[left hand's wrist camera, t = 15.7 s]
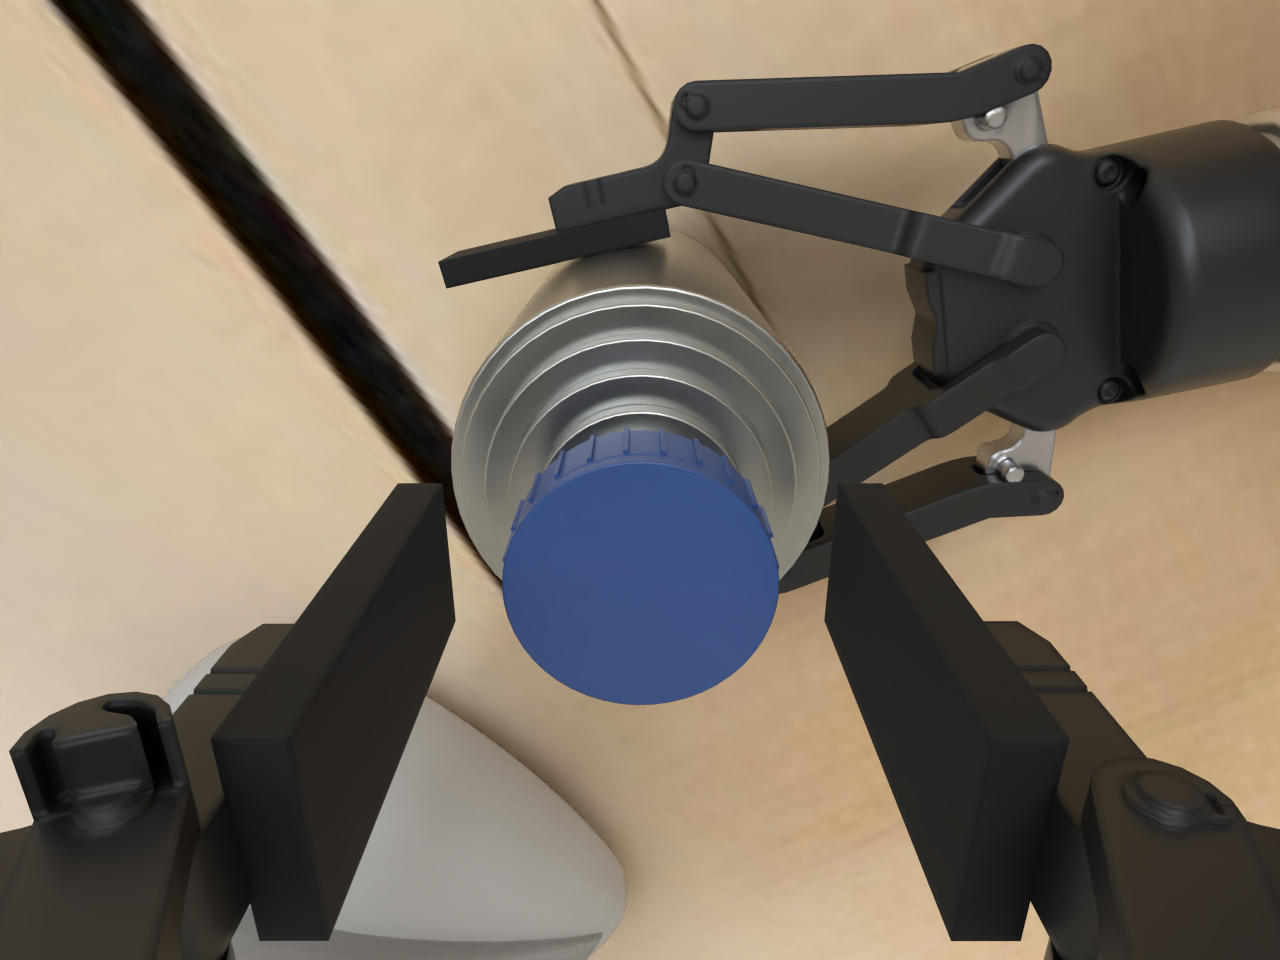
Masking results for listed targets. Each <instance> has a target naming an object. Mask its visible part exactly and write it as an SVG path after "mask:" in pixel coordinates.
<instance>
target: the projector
mask: <svg viewBox="0 0 1280 960" xmlns="http://www.w3.org/2000/svg"><path fill="white" fill-rule="evenodd" d="M239 639H240V638H239ZM239 639H236V640H234V641H231V642H229V643H227V644H225V645H223V646H221V647H219V648H217V649H216V650H215V651H213V652H212V653H210V654H209V655H208V656H206V657H205V658H204V659H202V660H201V661H200V662H199V663H198V664H196V665H195V666H194V667H193V668H192V669H191V670H190V671H189V672H187V673H186V674H185V675H184V676H183V677H182V678H181V679H180V680H179V681H178V682H177V683H176V684H175V685H174V686H173V687H172V688H171V689H170V691H169V692H168V693H167V694H166V695H165V696H164V698H163V700H164V701H165V702H167V703H168V704H169V705H170V707H171V711H172V714H173V713H174V712H175V711H176V710H177V709H178V707H179V706H180V705H181V704H182V703H183V701H184V700H185V699H186V698H187V697H188V695H189V694H193V692H194V688H195V687H196V686H197V685H198V683H199V682H200V681H201V680H202V679H203V677H204V676H205V675H206V674H210V672H211V668H212V667H213V665H214V664H215V663H216V662H217V661H218V659H219V658H220V657H221V656H222V655H223V653H224V652H225V651H226V650H227V649H228V647H229V646H230V645H231V644H233V643H234V642H236V641H237V640H239ZM625 906H626V882H625V877H624V872H623V869H622V867H621V865H620V863H619V861H618V859H617V858H616V856H615V855H614V854H613V852H612V851H611V850H610V848H609V847H608V846H607V845H606V843H605V842H604V841H603V840H602V839H601V838H600V837H599V836H598V834H597V833H596V832H595V831H594V830H593V829H592V828H591V827H590V826H589V825H588V824H587V823H586V822H585V821H584V820H583V819H582V818H581V817H580V816H579V815H578V814H577V813H576V812H575V811H574V810H573V809H572V808H571V807H570V806H569V805H568V804H567V803H566V802H565V801H564V800H563V799H562V798H561V797H560V796H559V795H558V794H556V793H555V792H554V791H553V790H552V789H551V788H550V787H549V786H548V785H547V784H545V783H544V782H543V781H542V780H541V779H540V778H538V777H537V776H536V775H535V774H534V773H533V772H531V771H530V770H529V769H528V768H527V767H525V766H524V765H523V764H522V763H520V762H519V761H518V760H517V759H515V758H514V757H513V756H511V755H510V754H509V753H508V752H506V751H505V750H504V749H503V748H501V747H500V746H499V745H497V744H496V743H495V742H493V741H492V740H490V739H489V738H488V737H486V736H485V735H483V734H482V733H481V732H479V731H478V730H476V729H475V728H474V727H472V726H471V725H470V724H468V723H467V722H465V721H464V720H462V719H461V718H459V717H458V716H456V715H455V714H453V713H452V712H450V711H449V710H447V709H446V708H444V707H442V706H441V705H439V704H438V703H436V702H435V701H433V700H431V699H430V698H428V697H427V696H426V697H425V699H424V702H423V704H422V707H421V709H420V712H419V714H418V717H417V719H416V722H415V724H414V727H413V729H412V732H411V734H410V737H409V740H408V742H407V745H406V747H405V750H404V752H403V755H402V757H401V760H400V762H399V765H398V767H397V770H396V772H395V775H394V777H393V780H392V782H391V785H390V788H389V790H388V793H387V795H386V798H385V800H384V803H383V805H382V808H381V810H380V813H379V815H378V818H377V820H376V823H375V825H374V828H373V830H372V833H371V836H370V838H369V841H368V843H367V846H366V848H365V851H364V853H363V856H362V858H361V861H360V863H359V866H358V868H357V871H356V873H355V876H354V879H353V881H352V884H351V886H350V889H349V891H348V894H347V896H346V899H345V901H344V904H343V906H342V909H341V911H340V914H339V916H338V919H337V921H336V924H335V927H334V929H333V932H332V934H331V937H330V939H329V941H259V937H258V933H257V929H256V925H255V921H254V917H253V913H252V909H251V904H250V905H249V907H248V909H247V911H246V913H245V914H244V916H243V918H242V920H241V922H240V924H239V926H238V928H237V930H236V932H235V934H234V936H233V937H232V939H231V941H232V945H233V949H234V953H235V959H236V960H587V959H588V958H589V957H590V956H591V955H592V954H593V953H594V952H595V951H596V950H597V949H598V948H599V947H600V946H601V945H602V944H603V943H604V942H605V941H606V939H607V938H608V937H609V936H610V935H611V933H612V932H613V931H614V929H615V928H616V927H617V925H618V924H619V922H620V920H621V918H622V916H623V914H624V911H625Z"/></svg>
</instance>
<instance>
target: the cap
mask: <svg viewBox="0 0 1280 960" xmlns="http://www.w3.org/2000/svg"><path fill="white" fill-rule="evenodd" d="M510 530H511V531H512V532H511V535H510V538H509V541H508V544H507V547H506V550H505V553H504V556H503V562H504V567H503V577H502V590H503V599H504V605H505V608H506V612H507V616H508V619H509V621H510V624H511V626H512V629H513V631H514V633H515V635H516V636H517V638H518V640H519V641H520V643H521V645H522V646H523V648H524V649H525V650H526V652H527V653H528V654H529V655H530V657H531V658H532V659H533V660H534V661H535V662H536V663H537V664H538V665H539V666H540V667H541V668H542V669H543V670H544V671H546V672H547V673H548V674H550V675H551V676H552V677H554V678H555V679H556V680H557V681H559V682H561V683H563V684H564V685H566V686H568V687H570V688H571V689H573V690H576V691H578V692H580V693H583V694H585V695H587V696H590V697H594V698H597V699H600V700H604V701H609V702H614V703H619V704H631V705H651V704H661V703H668V702H673V701H677V700H681V699H685V698H688V697H691V696H694V695H696V694H699V693H702V692H704V691H706V690H708V689H710V688H712V687H714V686H716V685H717V684H719V683H720V682H722V681H723V680H725V679H726V678H728V677H729V676H731V675H732V674H733V673H734V672H736V671H737V670H738V669H739V668H740V667H741V666H743V665H744V664H745V662H746V661H747V660H748V659H749V658H750V657H751V656H752V655H753V654H754V652H755V651H756V649H757V648H758V647H759V645H760V644H761V642H762V641H763V639H764V637H765V635H766V633H767V631H768V629H769V627H770V625H771V623H772V620H773V617H774V614H775V611H776V606H777V601H778V595H779V572H778V569H779V563H778V560H777V557H776V554H775V551H774V548H773V545H772V542H771V539H770V538H772V537H774V536H773V533H772V530H771V527H770V524H769V522H768V519H767V516H766V513H765V510H764V507H763V506H760V507H759V505H758V502H757V500H756V498H755V495H754V492H753V489H752V486H751V483H750V480H749V479H748V478H746V479H744V478H743V477H742V476H741V475H740V474H739V472H738V471H737V470H736V469H735V468H734V467H733V466H732V465H731V464H730V463H729V461H728V457H727V456H726V455H723V456H722V457H721V456H720V455H718V454H717V453H716V452H714V451H713V450H711V449H710V448H708V447H706V446H704V445H702V444H700V443H699V440H698V439H697V438H695V437H694V438H693V440H691V439H688V438H685V437H682V436H679V435H675V434H671V433H666V432H665V429H663V428H660V431H650V430H630V429H629V427H626V428H624V431H619V432H615V433H610V434H606V435H603V436H599V437H596V436H595V435H591V436H590V440H588V441H586V442H584V443H581V444H579V445H577V446H576V447H574V448H572V449H571V450H569V451H567V452H565V451H564V450H562V451H561V452H560V454H559V457H558V459H556V460H555V461H554V462H553V463H551V464H550V465H549V466H548V467H547V469H546V470H545V471H544V472H543V473H542V474H541V473H539V472H538V473H537V474H536V476H535V479H534V482H533V485H532V487H531V489H530V491H529V493H528V495H527V496H526V498H525V500H523V499H521V501H520V503H519V506H518V509H517V512H516V515H515V517H514V520H513V523H512V526H511V529H510Z"/></svg>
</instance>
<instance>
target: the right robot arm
mask: <svg viewBox="0 0 1280 960" xmlns="http://www.w3.org/2000/svg"><path fill="white" fill-rule="evenodd" d="M1050 73H1051V58H1050V55H1049V53H1048V51H1047V50H1046V49H1044V48H1043V47H1042V46H1040V45H1036V44H1029V45H1024V46H1020V47H1017V48H1013V49H1010V50H1006V51H1003V52H999V53H996V54H992V55H989V56H986V57H983V58H981V59H979V60H976V61H974V62H971V63H969V64H967V65H964V66H962V67H959V68H957V69H955V70H952V71H950V72H948V73H922V74H891V75H861V76H830V77H799V78H768V79H737V80H706V81H693V82H689V83H687V84H685V85H684V86H683V87H682V88H680V89H679V91H678V92H677V94H676V96H675V97H674V99H673V101H672V104H671V110H670V119H669V126H668V134H667V141H666V145H665V149H664V151H663V153H662V155H661V156H660V157H659V158H658V160H657V161H655V162H654V163H652V164H651V165H648V166H645V167H641V168H637V169H633V170H629V171H624V172H620V173H616V174H612V175H608V176H603V177H599V178H595V179H591V180H587V181H582V182H578V183H574V184H570V185H566V186H564V187H563V188H561V189H560V190H559V191H557V192H556V193H555V194H553V195H552V196H550V197H549V198H548V199H549V203H550V207H551V211H552V215H553V219H554V223H555V227H556V229H552V230H548V231H543V232H539V233H535V234H530V235H526V236H522V237H518V238H513V239H509V240H505V241H500V242H496V243H492V244H487V245H483V246H479V247H475V248H470V249H466V250H462V251H458V252H456V253H454V254H452V255H450V256H448V257H447V258H445V259H443V260H441V261H439V262H438V263H439V266H440V269H441V272H442V276H443V279H444V282H445V286H446V288H451V287H455V286H459V285H464V284H468V283H472V282H477V281H481V280H486V279H490V278H494V277H499V276H503V275H507V274H512V273H516V272H520V271H525V270H529V269H534V268H538V267H542V266H547V265H551V264H555V263H560V262H564V261H569V260H573V259H577V258H582V257H586V256H590V255H595V254H599V253H603V252H607V251H612V250H617V249H621V248H625V247H630V246H634V245H638V244H643V243H647V242H652V241H656V240H660V239H665V238H669V237H671V236H670V231H669V225H668V220H667V215H666V210H665V209H669V208H673V207H678V206H686V207H690V208H695V209H699V210H703V211H708V212H712V213H717V214H721V215H726V216H730V217H734V218H739V219H743V220H748V221H752V222H757V223H761V224H765V225H770V226H774V227H779V228H783V229H788V230H792V231H796V232H801V233H805V234H810V235H814V236H819V237H823V238H827V239H832V240H836V241H841V242H845V243H850V244H854V245H858V246H863V247H867V248H872V249H876V250H881V251H885V252H889V253H893V254H897V255H901V256H905V257H908V258H911V261H910V263H908V264H904V267H905V277H906V287H907V291H908V293H909V296H910V298H911V301H912V303H913V306H914V309H915V320H914V326H913V331H912V337H911V338H912V348H913V358H914V361H915V362H913V363H912V364H910V365H909V366H907V367H906V368H905V369H903V370H902V371H900V372H899V373H897V374H896V375H895V376H893V377H892V379H891V380H890V381H889V383H888V385H887V387H886V388H885V389H883V390H882V391H881V392H879V393H878V394H876V395H875V396H873V397H872V398H870V399H869V400H867V401H866V402H864V403H863V404H861V405H860V406H858V407H857V408H855V409H854V410H852V411H851V412H850V413H848V414H847V415H845V416H844V417H842V418H841V419H839V420H838V421H836V422H835V423H833V424H832V425H830V426H829V427H827V428H826V429H827V434H828V443H829V455H830V463H829V480H828V486H827V491H826V496H825V501H824V505H823V507H824V506H826V505H827V504H829V503H831V502H832V501H834V500H835V499H836V498H837V487H838V483H861V482H863V481H864V480H866V479H867V478H869V477H871V476H872V475H874V474H875V473H877V472H878V471H880V470H881V469H883V468H884V467H886V466H887V465H889V464H891V463H892V462H894V461H895V460H897V459H898V458H900V457H901V456H903V455H904V454H906V453H907V452H909V451H911V450H912V449H914V448H915V447H917V446H918V445H920V444H921V443H923V442H924V441H926V440H928V439H931V438H941V437H944V436H947V435H948V434H950V433H952V432H954V431H955V430H957V429H958V428H960V427H961V426H963V425H964V424H966V423H968V422H969V421H971V420H972V419H974V418H975V417H977V416H978V415H980V414H981V413H983V412H985V411H988V412H990V413H992V414H994V415H997V416H999V417H1001V418H1003V419H1006V420H1008V421H1010V422H1012V427H1011V428H1010V430H1009V432H1008V433H1007V434H1006V435H1005V436H1003V437H1002V438H1000V439H998V440H995V441H991V442H985V443H983V444H981V445H980V446H979V447H978V449H977V456H973V457H965V458H960V459H955V460H951V461H948V462H945V463H942V464H939V465H936V466H933V467H931V468H928V469H925V470H923V471H920V472H918V473H915V474H912V475H910V476H907V477H904V478H902V479H899V480H897V481H894V482H891V483H889V484H886V485H883V486H884V487H885V488H886V490H887V491H888V492H889V494H890V495H891V496H892V498H893V499H894V500H895V502H896V503H897V505H898V506H899V507H900V509H901V510H902V511H903V513H904V514H905V515H906V517H907V518H908V519H909V521H910V522H911V524H912V525H913V526H914V528H915V529H916V530H917V532H918V533H919V534H920V536H921V537H922V539H923V540H924V541H928V540H930V539H933V538H936V537H939V536H941V535H944V534H947V533H949V532H952V531H955V530H958V529H960V528H963V527H966V526H969V525H971V524H974V523H977V522H979V521H982V520H985V519H988V518H996V517H1015V516H1034V515H1045V514H1049V513H1051V512H1053V511H1055V510H1056V509H1057V508H1058V507H1059V506H1060V505H1061V503H1062V501H1063V498H1064V492H1063V489H1062V487H1061V485H1060V484H1059V483H1057V482H1056V481H1055V480H1054V479H1052V478H1051V477H1050V470H1051V463H1052V455H1053V448H1054V441H1055V434H1056V430H1057V429H1059V428H1062V427H1064V426H1066V425H1068V424H1069V423H1070V422H1072V421H1073V420H1074V419H1076V418H1077V417H1078V416H1080V415H1082V414H1083V413H1085V412H1087V411H1089V410H1091V409H1093V408H1095V407H1098V406H1101V405H1106V404H1114V403H1122V402H1130V401H1137V400H1143V399H1148V398H1153V397H1158V396H1163V395H1168V394H1173V393H1178V392H1182V391H1187V390H1192V389H1197V388H1202V387H1207V386H1212V385H1217V384H1222V383H1226V382H1231V381H1236V380H1241V379H1245V378H1249V377H1251V376H1254V375H1256V374H1258V373H1260V372H1261V371H1262V372H1280V107H1276V108H1271V109H1267V110H1262V111H1258V112H1254V113H1250V114H1245V115H1244V116H1242V117H1240V118H1239V119H1237V120H1235V121H1226V120H1218V121H1212V122H1206V123H1202V124H1198V125H1193V126H1189V127H1185V128H1180V129H1176V130H1172V131H1167V132H1163V133H1158V134H1154V135H1150V136H1145V137H1141V138H1137V139H1132V140H1128V141H1124V142H1119V143H1115V144H1110V145H1106V146H1102V147H1097V148H1093V149H1089V150H1084V151H1073V150H1069V149H1066V148H1064V147H1061V146H1058V145H1054V144H1048V142H1047V136H1046V131H1045V126H1044V121H1043V116H1042V111H1041V106H1040V100H1039V95H1038V90H1039V89H1041V88H1042V87H1043V86H1044V84H1045V83H1046V82H1047V80H1048V78H1049V76H1050ZM945 122H951V123H952V128H953V130H954V133H955V134H956V135H957V137H958V138H959V139H961V140H963V141H966V142H983V141H986V142H989V143H990V144H992V145H993V146H994V147H995V148H996V149H997V151H998V154H999V158H998V159H997V160H996V161H995V162H994V163H993V164H992V165H991V166H990V167H989V168H988V169H987V170H986V171H985V172H984V173H983V174H982V175H981V176H980V177H979V178H978V179H977V180H976V181H975V182H974V183H973V184H972V185H971V186H970V187H969V188H968V189H967V190H966V191H965V192H964V193H963V194H962V195H961V197H960V198H959V199H958V200H957V201H956V202H955V203H954V204H953V205H952V206H951V207H950V208H949V209H948V210H947V211H946V212H945V213H944V214H943V215H942V216H941V217H939V216H934V215H930V214H925V213H921V212H917V211H912V210H908V209H903V208H899V207H895V206H890V205H886V204H882V203H877V202H873V201H869V200H864V199H860V198H856V197H851V196H847V195H842V194H838V193H834V192H829V191H825V190H821V189H816V188H812V187H808V186H803V185H799V184H795V183H790V182H786V181H782V180H777V179H773V178H769V177H764V176H760V175H756V174H751V173H747V172H743V171H738V170H734V169H730V168H725V167H721V166H717V165H712V164H709V159H710V153H711V146H712V139H713V133H714V132H740V131H772V130H804V129H835V128H867V127H898V126H915V125H926V124H935V123H945ZM835 508H836V504H834V505H831V506H828V507H826V508H823V509H822V511H821V514H820V517H819V520H818V523H817V525H816V527H815V529H814V531H813V533H812V535H811V537H810V539H809V541H808V543H807V545H806V547H805V548H804V550H803V551H802V553H801V554H800V556H799V557H798V559H797V560H796V562H795V563H794V565H793V566H792V567H791V568H790V569H789V570H788V571H787V573H786V574H785V575H784V576H783V577H782V578H781V579H780V581H779V594H780V593H786V592H789V591H791V590H794V589H797V588H800V587H802V586H805V585H808V584H811V583H813V582H816V581H819V580H821V579H824V578H827V577H829V569H830V559H831V549H832V539H833V528H834V518H835Z"/></svg>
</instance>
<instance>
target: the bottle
mask: <svg viewBox="0 0 1280 960" xmlns="http://www.w3.org/2000/svg"><path fill="white" fill-rule="evenodd" d="M669 231H670V236H671V237H669V238H665V239H660V240H656V241H652V242H647V243H643V244H638V245H634V246H630V247H625V248H621V249H617V250H612V251H607V252H603V253H599V254H595V255H590V256H586V257H582V258H577V259H573V260H569V261H564V262H560V263H558V264H557V265H556V267H555V268H554V269H553V271H552V272H551V273H550V274H549V276H548V277H547V278H546V280H545V281H544V282H543V284H542V285H541V286H540V288H539V289H538V290H537V292H536V293H535V294H534V296H533V297H532V298H531V300H530V301H529V302H528V304H527V305H526V306H525V308H524V309H523V310H522V312H521V313H520V314H519V316H518V317H517V318H516V319H515V321H514V322H513V323H512V325H511V326H510V327H509V329H508V330H507V331H506V333H505V334H504V335H503V337H502V338H501V339H500V341H499V342H498V343H497V345H496V346H495V347H494V349H493V350H492V351H491V353H490V354H489V355H488V357H487V358H486V359H485V361H484V362H483V364H482V365H481V367H480V369H479V370H478V372H477V373H476V375H475V376H474V378H473V379H472V382H471V384H470V386H469V388H468V390H467V392H466V394H465V396H464V399H463V401H462V404H461V407H460V410H459V414H458V417H457V420H456V424H455V430H454V436H453V443H452V477H453V485H454V493H455V496H456V500H457V504H458V508H459V511H460V515H461V517H462V520H463V522H464V524H465V527H466V529H467V531H468V534H469V536H470V538H471V539H472V541H473V543H474V545H475V546H476V548H477V550H478V551H479V553H480V555H481V556H482V558H483V559H484V560H485V561H486V563H487V564H488V565H489V567H490V568H491V569H492V570H493V572H494V573H495V574H496V575H497V576H498V577H499V578H500V579H501V580H502V577H503V567H504V562H503V556H504V553H505V550H506V547H507V544H508V541H509V538H510V535H511V532H512V531H511V530H510V529H511V526H512V523H513V520H514V517H515V515H516V512H517V509H518V506H519V503H520V501H521V499H523V500H525V498H526V496H527V495H528V493H529V491H530V489H531V487H532V485H533V482H534V479H535V476H536V474H537V473H538V472H539V473H541V474H542V473H543V472H544V471H545V470H546V469H547V467H548V466H549V465H550V464H551V463H553V462H554V461H555V460H556V459H558V457H559V454H560V452H561V451H562V450H564V451H565V452H567V451H569V450H571V449H572V448H574V447H576V446H577V445H579V444H581V443H584V442H586V441H588V440H590V436H591V435H595V436H596V437H599V436H603V435H606V434H610V433H615V432H619V431H624V428H626V427H629V429H630V430H650V431H660V428H663V429H665V432H666V433H671V434H675V435H679V436H682V437H685V438H688V439H691V440H693V438H694V437H695V438H697V439H698V440H699V443H700V444H702V445H704V446H706V447H708V448H710V449H711V450H713V451H714V452H716V453H717V454H718V455H720V456H721V457H722V456H723V455H726V456H727V457H728V461H729V463H730V464H731V465H732V466H733V467H734V468H735V469H736V470H737V471H738V472H739V474H740V475H741V476H742V477H743V478H744V479H746V478H748V479H749V480H750V483H751V486H752V489H753V492H754V495H755V498H756V500H757V502H758V505H759V507H760V506H763V507H764V510H765V513H766V516H767V519H768V522H769V524H770V527H771V530H772V533H773V536H774V537H772V538H770V539H771V542H772V545H773V548H774V551H775V554H776V557H777V560H778V563H779V569H778V572H779V581H780V579H781V578H782V577H783V576H784V575H785V574H786V573H787V571H788V570H789V569H790V568H791V567H792V566H793V565H794V563H795V562H796V560H797V559H798V557H799V556H800V554H801V553H802V551H803V550H804V548H805V547H806V545H807V543H808V541H809V539H810V537H811V535H812V533H813V531H814V529H815V527H816V525H817V523H818V520H819V517H820V514H821V511H822V508H823V505H824V501H825V496H826V491H827V486H828V480H829V463H830V455H829V443H828V434H827V429H826V425H825V421H824V416H823V412H822V409H821V407H820V404H819V402H818V399H817V396H816V394H815V391H814V389H813V387H812V385H811V384H810V382H809V380H808V378H807V376H806V375H805V373H804V371H803V369H802V368H801V366H800V365H799V364H798V362H797V361H796V360H795V358H794V357H793V356H792V354H791V353H790V352H789V350H788V349H787V348H786V346H785V345H784V344H783V343H782V341H781V340H780V339H779V337H778V336H777V335H776V333H775V332H774V331H773V329H772V328H771V327H770V325H769V324H768V323H767V321H766V320H765V319H764V317H763V316H762V315H761V313H760V312H759V311H758V310H757V308H756V307H755V306H754V304H753V303H752V302H751V300H750V299H749V298H748V296H747V295H746V294H745V292H744V291H743V290H742V288H741V287H740V286H739V284H738V283H737V282H736V280H735V279H734V278H733V277H732V275H731V274H730V273H729V271H728V270H727V269H726V267H725V266H724V265H723V263H722V262H721V261H720V260H719V259H718V258H717V257H716V256H715V255H714V254H713V253H712V252H711V251H710V250H709V249H707V248H706V247H705V246H703V245H702V244H701V243H699V242H698V241H696V240H694V239H692V238H691V237H689V236H687V235H685V234H682V233H680V232H677V231H675V230H672V229H669Z"/></svg>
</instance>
